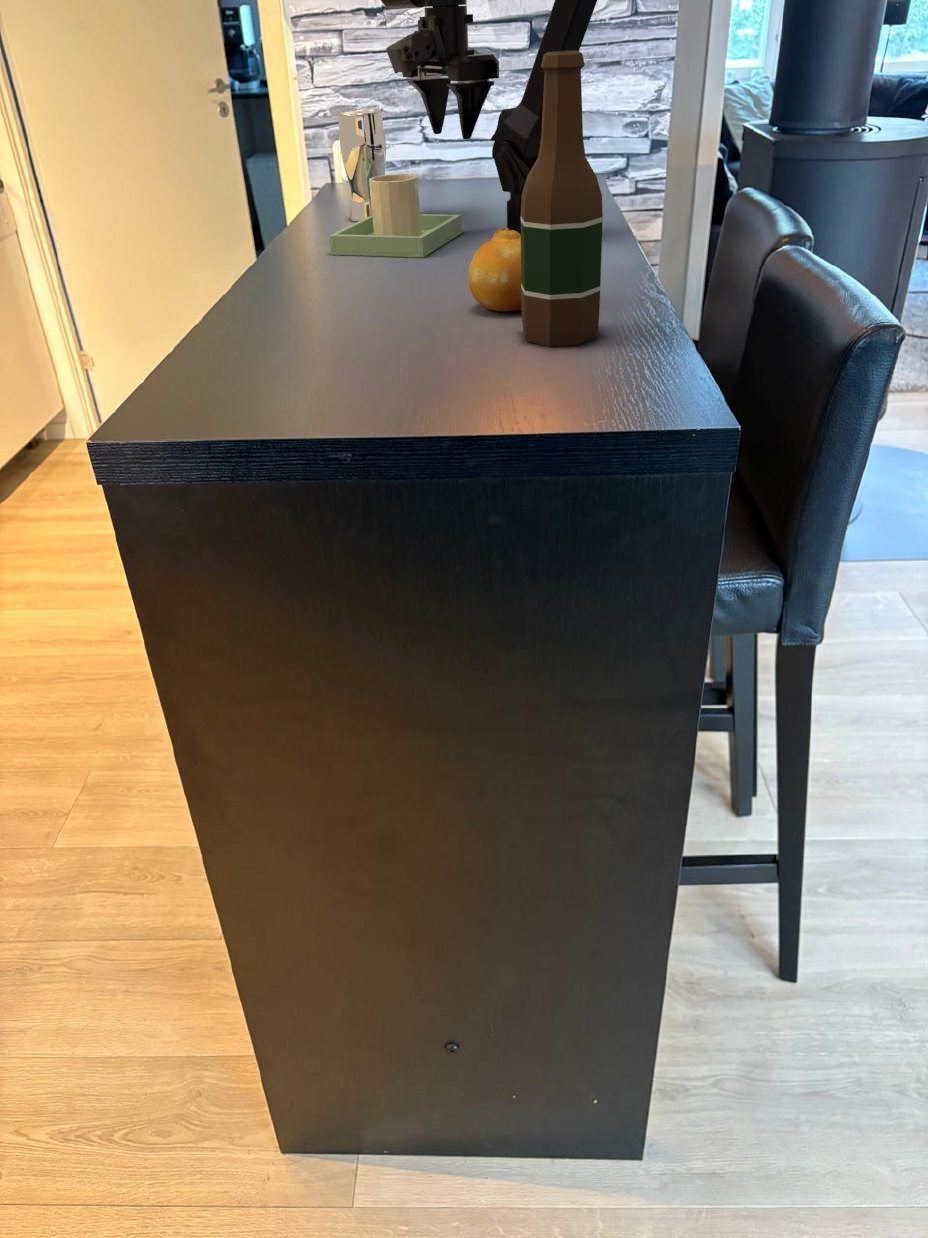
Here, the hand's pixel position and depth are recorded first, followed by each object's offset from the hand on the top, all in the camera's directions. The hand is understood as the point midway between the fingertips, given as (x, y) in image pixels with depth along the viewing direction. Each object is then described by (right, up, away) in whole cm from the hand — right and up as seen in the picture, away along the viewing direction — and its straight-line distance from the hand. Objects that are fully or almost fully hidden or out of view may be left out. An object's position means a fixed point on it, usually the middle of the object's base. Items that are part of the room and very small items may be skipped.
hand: (451, 136), depth 134 cm
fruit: (+7, -36, -32) cm, 49 cm away
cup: (-7, -16, -3) cm, 18 cm away
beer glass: (-13, -6, +15) cm, 20 cm away
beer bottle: (+11, -42, -42) cm, 60 cm away
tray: (-7, -16, -2) cm, 18 cm away
